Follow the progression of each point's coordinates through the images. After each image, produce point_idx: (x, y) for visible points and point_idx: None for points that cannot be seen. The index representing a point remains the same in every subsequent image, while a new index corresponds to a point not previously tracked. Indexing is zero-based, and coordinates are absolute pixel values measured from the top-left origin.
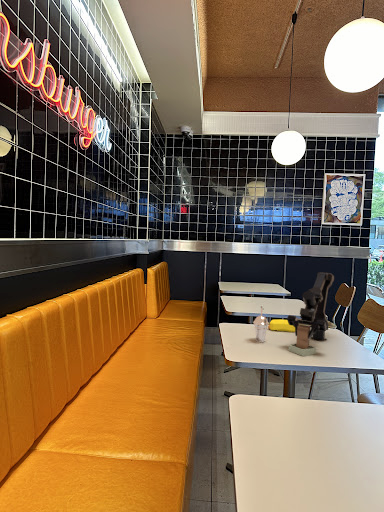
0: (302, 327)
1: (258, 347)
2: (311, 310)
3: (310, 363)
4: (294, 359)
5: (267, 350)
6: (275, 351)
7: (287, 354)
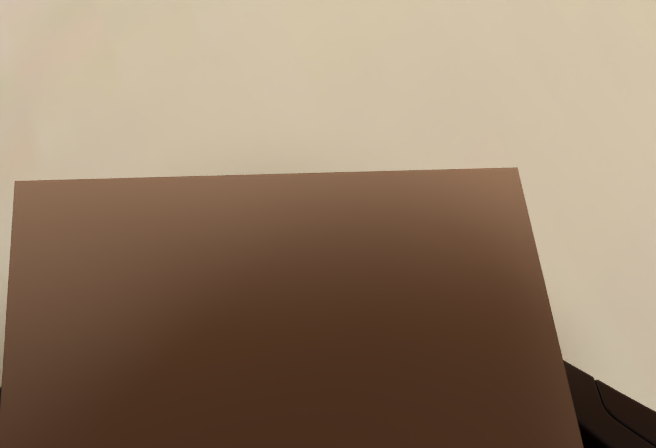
0: (311, 173)
1: (641, 163)
2: None
3: (21, 29)
4: (219, 47)
5: (541, 135)
6: (478, 160)
7: (345, 153)
